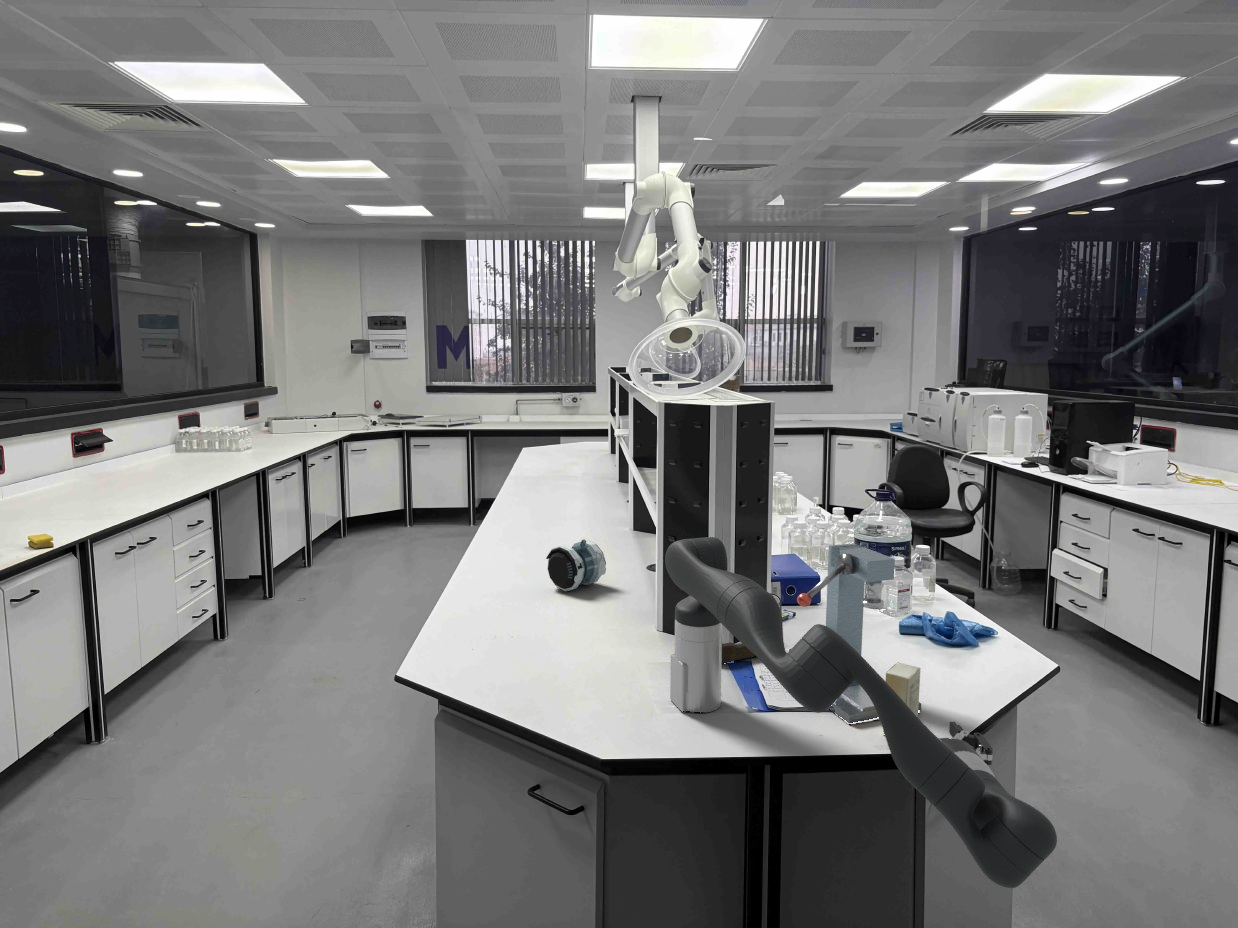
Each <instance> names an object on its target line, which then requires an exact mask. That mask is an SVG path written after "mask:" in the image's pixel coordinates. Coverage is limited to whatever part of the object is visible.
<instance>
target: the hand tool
mask: <svg viewBox="0 0 1238 928" xmlns="http://www.w3.org/2000/svg"><path fill="white" fill-rule="evenodd" d="M755 656H756V655H755V654H754V653H753V652H751V651H750V650H749V649H748V648H747V647H746V646H745V645H744V644H743V643H738V644H737V643H733V642H731V641H729V642H726V643H722V664H724V663H727V662H731V661H735V660H737V661H739V660H744V659H748V658H749V659H751V658H754V657H755ZM756 657H757V656H756ZM735 662H736V661H735Z"/></svg>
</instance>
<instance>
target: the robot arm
mask: <svg viewBox="0 0 1238 928" xmlns="http://www.w3.org/2000/svg"><path fill="white" fill-rule="evenodd" d="M664 557H665V558H664V560H665V561H664V562H665V568H666V570H667V573H668V575H669V578H670V579H671V581H672V582H673V583H674V584H675V586H676V587H678V588H679V589H680V590H681V591H683V592H685V593H686V594H687V595H688V596H687V597H685V598H683V599H682V600H680V601H678V602H677V603H676V605H675V606H674V607H675V608H674V609H675V610H674V653H672V654H671V655H670V679H669V681H670V683H669V685H670V687H669V688H670V691H669V692H670V694H669V695H670V696H669V699H671V700H670V701H671V702H672V703H673V704H674V706H675V707H676V708H677V707H678V708H679V709H680V710H681V711H682V712H681V711H680V710H679V709H678V708H677V709H678V710H679V711H680V712H681V713H687V712H686V711H690V712H689V713H694V712H700V714H701V712H705V713H710V712H713V711H716V710H718V709H719V708H720V707H721V704H722V702H721V701H722V666H723V665H722V644H723V627H724V628H725V629H726V630H727V631H728V632H729V633H731V635H732V636H733V637H735V638H736V639H737V640H738V641H739V642H741V643H740V644H744V645H745V646H746V647H747V648H748V649H749V650H750V651H751V652H753V653H754V654H755V655H756V658H757V659H758V660H759V661H760V662H761V663H762V665H763V666H765V667H766V668H767V670H768V671H769V672H770V673H771V675H772V676H773V677H774V678H775V679H776V680H777V681H778V683H779V684H780V685H781V687H783V689H784V690H785V691H786V692H787V693H788V694H789V696H791V697H792V698H793V699H794V700H795V701H796V702H798V704H799V705H801V706H802V707H803V708H805V709H807V710H808V711H810V712H813V713H816V714H819V713H823V712H825V711H826V710H828V709H827V708H829V707H830V706H831V705H832V704H833V703H834V702H835V701H836V700H837V699H838V698H839V696H840V695H841V694H842V693H843V692H844V691H845V690H846V689H847V688H848V687H849V686H850V684H851V683H852V682H854V681H856V682H857V683H858V684H859V685H860V686H861V687H862V688H863V689H864V691H865V692H866V693H867V695H868V696H869V698H870V699H871V701H872V703H873V705H874V707H875V709H876V711H877V714H878V716H879V719H880V720H879V721H880V724H881V726H882V731H883V730H884V734H885V736H884V737H885V739H886V744H887V746H888V749H889V751H890V752H889V753H890V755H891V757H892V759H893V761H894V764H895V766H896V767H897V769H898V770H899V772H900V774H901V775H902V776H903V777H904V779H905V780H906V781H907V782H908V783H909V784H910V785H911V786H912V787H913V788H914V789H915V790H917V792H918V793H920V794H921V795H922V797H924V798H925V799H926V800H927V801H928V802H929V803H930V804H931V805H932V806H933V807H934V808H935V809H936V810H937V811H938V812H939V813H940V814H941V815H942V816H943V817H944V818H945V819H946V821H947V822H948V823H949V824H950V825H951V827H952V828H953V830H954V831H955V832H956V834H957V835H958V836H959V838H960V839H961V841H962V842H963V844H964V845H965V847H966V849H967V851H968V852H969V854H970V855H971V857H972V858H973V860H974V861H975V863H976V864H977V866H978V867H979V869H980V870H981V872H983V874H984V876H986V878H988V879H989V880H990V881H991V882H992V883H995V884H996V885H998V886H1000V887H1003V888H1007V889H1014V888H1018V887H1019V886H1021V885H1022V884H1023V883H1024V882H1025V881H1026V880H1027V879H1028V878H1029V877H1030V876H1031V875H1032V874H1033V873H1034V872H1035V870H1037V868H1038V867H1039V866H1041V864H1042V863H1044V861H1045V860H1047V859H1048V857H1049V856H1051V854H1052V853H1053V852H1054V851H1055V849H1056V847H1057V843H1058V836H1057V832H1056V829H1055V826H1054V825H1053V823H1052V822H1051V820H1050V819H1048V817H1047V816H1046V815H1044V814H1043V812H1041V811H1040V810H1039V809H1037V808H1036V807H1034V806H1032V805H1031V804H1029V803H1027V802H1025V801H1023V800H1020V799H1019V798H1016V797H1015V796H1013V795H1011V794H1010V793H1009V792H1008V791H1007V790H1006V789H1005V788H1004V786H1003V785H1002V784H1001V783H1000V782H999V780H998V779H997V778H996V775H995V774H994V771H992V769H991V768H990V767H989V766H992V765H993V755H994V754H993V751H994V749H993V747H992V746H991V745H990V743H989V742H988V740H987V739H986V738H985V737H984V735H983V734H982V733H981V732H974V733H973V734H970V732H969V731H967V730H965V729H964V728H963V727H962V726H961V725H960V724H958V723H957V722H956V721H949V724H948V725H949V728H948V732H949V735H950V736H951V738H949V737H940V738H939V737H938V736H937V735H935V733H933V731H931V730H930V728H928V727H927V725H926V724H925V723H924V722H923V721H922V720H920V718H919V716H918V717H917V716H916V715H915V714H914V713H913V712H912V710H911V709H910V708H909V707H908V706H907V705H906V704H905V702H904V701H903V700H902V699H901V698H900V697H899V696H898V695H897V693H896V692H895V691H894V690H893V689H892V688H891V687H890V686H889V685H888V684H887V683H886V679H884V678H883V677H882V676H881V675H880V674H879V673H878V672H877V671H876V669H875V668H873V667H872V666H871V665H870V663H869V662H868V661H867V660H866V659H865V658H864V657H863V656H862V654H861V655H860V654H859V653H858V652H857V651H856V650H855V649H854V648H853V647H852V646H851V645H850V644H849V643H848V642H847V641H846V640H845V639H843V638H842V637H841V636H840V635H839V634H837V633H836V632H835V631H833V630H832V629H830V628H829V627H827V626H826V624H825V625H824V624H820V623H817V624H814V625H813V626H811V628H809V629H808V630H807V631H806V633H805V634H804V635H802V637H801V638H800V639H799V640H798V641H797V642H796V643H795V644H794V645H793V647H791V649H790V650H789V651H787V652H786V648H785V641H784V627H783V626H784V625H783V616H782V611H781V608H780V605H779V603H778V601H777V600H776V598H775V597H774V595H772V594H771V593H770V592H768V591H767V590H766V589H765V588H764V587H762V586H761V585H760V584H759V583H757V582H756V581H755V580H753V579H751V578H749V577H747V576H745V575H742V574H738V573H734V572H732V571H728V554H727V549H726V546H725V545H724V543H723V542H722V540H721V539H719V537H714V536H707V537H695V538H694V537H693V538H684V539H683V538H682V539H680V540H676V541H674V542H671V544H670V545H669V546H668V547H667V549H666V552H665V555H664ZM683 711H685V712H683Z"/></svg>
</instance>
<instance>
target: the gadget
mask: <svg viewBox="0 0 1238 928" xmlns="http://www.w3.org/2000/svg"><path fill="white" fill-rule="evenodd" d="M604 554H605V553H604V551H602V549H601V548H600V547H599V545H598V544H597V543H595V542H593V541H591V540H588V539H583V538H582V539H581V541H579V542H576V543H573V545H572V546H571V547H569V546H567V545H561V546H558V547H554V548H552V549H550V551H549V552H548V554H547V556H546V557H545V559H546V560H547V561H548V562H547V572H548V576H549V579H550V580H551V582H553V584H554V586H556V588H558V589H559V590H562V591H563V592H568V591H569V592H570V591H573V590H575V589H578V587H579V585H580V584H582V585H584V586H589V585H591V584H594V583H598V581H599V580H600V578H601V577H602V576H604V575H605V574H606V571H607V567H606V565H607V562H606V558H605V555H604Z"/></svg>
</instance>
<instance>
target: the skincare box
mask: <svg viewBox="0 0 1238 928" xmlns="http://www.w3.org/2000/svg"><path fill="white" fill-rule="evenodd" d="M885 681H886V683H887V684H888V685H889V686H890V687H891V688H892V689H893V690H894V691H895V692H896V693H897V695H898V696H899V697H900V698H901V699H902V700H903V701H904V702H905V704H906V705H907V706H908V707H909V708H910V709H911V710H912V712H913V713H914V714H915V715H916V716H917V717H918V718H919V714H918V706H919V702H920V686H921V682H920V681H921V667H918V666H915V665H912V664H911V665H910V664H907V663H903V662H896V663H895V664H893V666H891V667H890V668H889V669H888V670H887V671H886V672H885ZM882 732H884V730H883V729H882Z"/></svg>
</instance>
